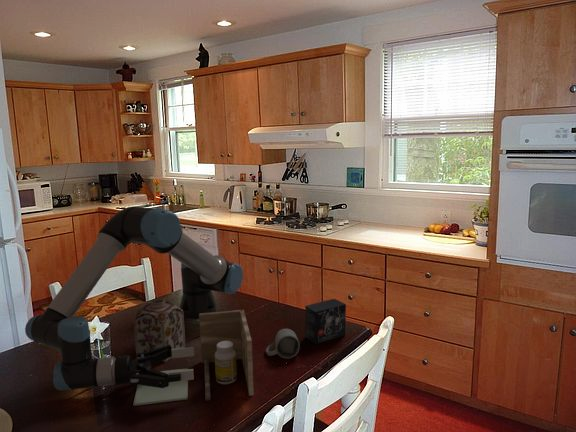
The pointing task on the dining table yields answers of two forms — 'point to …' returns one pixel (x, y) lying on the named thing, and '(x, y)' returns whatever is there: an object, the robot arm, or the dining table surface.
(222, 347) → the pill bottle
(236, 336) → the wooden corner wall
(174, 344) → the decorative jar
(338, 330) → the small box
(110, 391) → the dining table surface
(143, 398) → the pad
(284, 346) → the ceramic mug
